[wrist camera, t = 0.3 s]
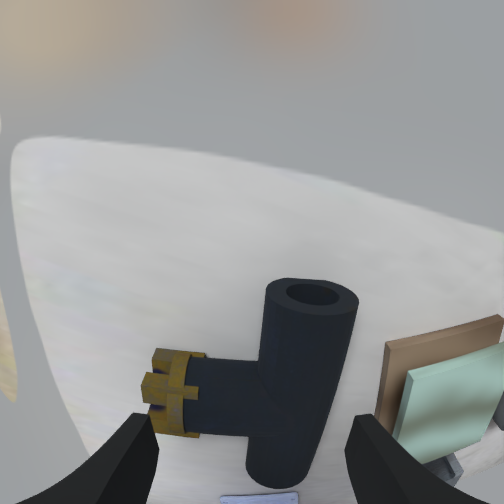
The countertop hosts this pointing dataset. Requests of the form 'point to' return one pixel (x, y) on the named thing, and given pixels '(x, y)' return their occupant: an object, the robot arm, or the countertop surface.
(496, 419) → the knob
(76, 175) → the countertop surface
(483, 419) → the stand
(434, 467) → the housing
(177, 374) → the pipe connector
